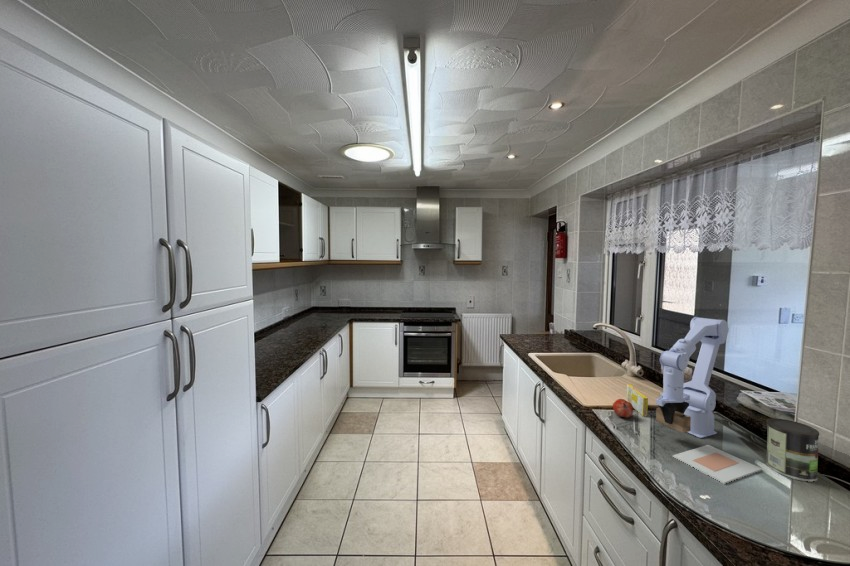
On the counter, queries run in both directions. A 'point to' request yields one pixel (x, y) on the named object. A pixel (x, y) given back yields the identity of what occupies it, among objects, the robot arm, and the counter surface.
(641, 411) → the candy box
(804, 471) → the coffee can
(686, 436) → the counter surface
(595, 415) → the counter surface
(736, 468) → the mat
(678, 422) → the walnut block
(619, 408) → the pomegranate
